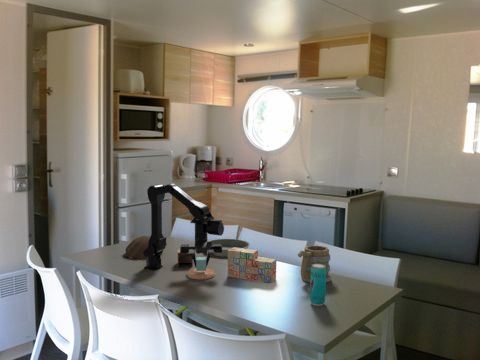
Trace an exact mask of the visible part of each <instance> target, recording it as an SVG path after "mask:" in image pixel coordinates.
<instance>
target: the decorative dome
mask: <svg viewBox="0 0 480 360" xmlns="http://www.w3.org/2000/svg"><path fill="white" fill-rule="evenodd" d="M149 238H150V236H148V235H141V236H139V237H136V238H134V239H132V241H131V242H130V243H129V244H128V245H127V246H126V247H125V255H124V257H126V258H129V259H131V258H133V259H134V258H138V259H139V260H146V257H145V256H144V254H143V252H144V251H145V249H146V248H147V247H148V241H149ZM159 255H161V256H162V255H163V253H162V254H159Z"/></svg>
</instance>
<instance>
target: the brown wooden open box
mask: <svg viewBox="0 0 480 360" xmlns="http://www.w3.org/2000/svg"><path fill="white" fill-rule="evenodd" d="M180 263H181V264H182V263H185V264H187V263H189V264H190V263H191V267H194V261H193V258H192V257H191V255H188V253H180V248H178V249H177V267H178V268H179V266H180V265H179V264H180Z"/></svg>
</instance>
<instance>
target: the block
mask: <svg viewBox="0 0 480 360" xmlns="http://www.w3.org/2000/svg"><path fill="white" fill-rule="evenodd" d="M195 257H196V256H195ZM206 257H207V256H202V257H199V256H198V257H196V267H195V269H196V271H206V268H207V267H206Z"/></svg>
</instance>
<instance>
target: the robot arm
mask: <svg viewBox="0 0 480 360" xmlns="http://www.w3.org/2000/svg"><path fill="white" fill-rule="evenodd" d="M146 193H147V199H148V201H149V202H150V210H151V211H150V213H151V214H150V216H151V217H150V218H151V219H150V220H151V222H150V223H151V225H150V226H151V227H150V233H151V234H150V236H149V237H150V238H149V241H148V247H147V248H146V249H145V251H144V252H143V254H144V256H145V257H146V259H145V260H146V261H145V263H146V264H145V266H144V267H143V268H144V269H147V270H154V271H155V270H158V269H161V268H163V265H162V258H161V256H162V255H163V253H164V250H165V249H166V246H168V245H167V244H168V243H167V237H166V236H164V234H163V232H162V231H163V224H162V223H163V221H162V219H163V216H162V214H163V211H162V210H163V208H162V207H163V201H164V200H165V196H166V194H168V193H169V194H170V196H172V197H174V198H175V199H176V200H177V201H178V202H180V203H181V204H182V205H184V206H185V207H186V208H187V209H188V211H189V213H190V215H192V217H193V219H191V220H190V224H194V246H193V245H192V246H191V245H190V244H186V243H185V244H183V243H182V244H181V245H180V247H179V249H180V253H188V255H191V257H192V258H193V265H194V266H195V268H196V254H198V255H199V254H204V255H205V254H206V256H205V257H206V268H207V267H208V265H209V261H210V259H211V257H212V256H214V255H213V254H214V252H215V253H222V245H221V244H213V246H211V242H208V235H212V236H222V235H223V234H224V231H225V226H224V223H223V221H222V219H215V218H214V216H213V215H212V213H211V211H210V208H209V206H208V205H206V204H204V203H203V202H200V201H197V200H195V199H194V198H192V197H191V196H190V195H189V194H187V193H186V192H185V191H184V190H182V188H180V186H178V185H177V184H176V183H168V184H166V185H163V184H160V183H159V184H155V185H150V186H149V187H148V188H147V191H146ZM159 254H162V255H159Z"/></svg>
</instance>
